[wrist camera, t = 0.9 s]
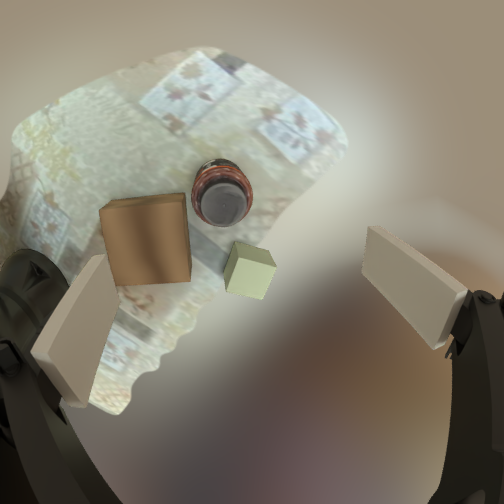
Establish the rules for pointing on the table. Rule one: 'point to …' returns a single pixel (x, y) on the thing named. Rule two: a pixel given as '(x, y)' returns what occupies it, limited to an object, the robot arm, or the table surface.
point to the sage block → (249, 271)
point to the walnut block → (147, 239)
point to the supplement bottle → (221, 193)
